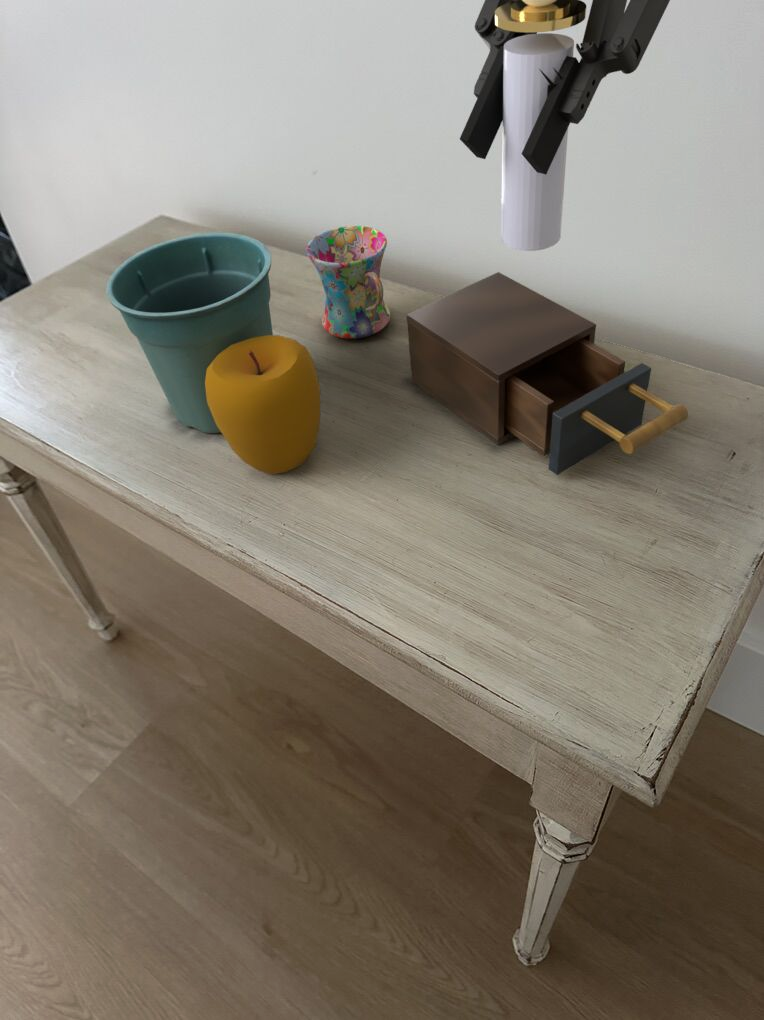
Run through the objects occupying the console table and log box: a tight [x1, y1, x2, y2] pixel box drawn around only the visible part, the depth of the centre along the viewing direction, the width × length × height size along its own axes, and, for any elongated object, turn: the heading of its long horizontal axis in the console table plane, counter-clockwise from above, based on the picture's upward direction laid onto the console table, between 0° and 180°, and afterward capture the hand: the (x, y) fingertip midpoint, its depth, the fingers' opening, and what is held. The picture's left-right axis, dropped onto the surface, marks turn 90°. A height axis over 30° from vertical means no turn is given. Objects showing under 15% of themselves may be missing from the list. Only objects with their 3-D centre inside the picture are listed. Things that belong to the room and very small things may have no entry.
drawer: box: [504, 338, 690, 476], centre depth 76 cm, size 20×11×7 cm, turn 35°
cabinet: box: [406, 271, 597, 446], centre depth 83 cm, size 15×13×9 cm
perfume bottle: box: [495, 0, 587, 252], centre depth 55 cm, size 6×6×20 cm
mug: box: [306, 225, 391, 340], centre depth 93 cm, size 12×9×11 cm
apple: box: [205, 334, 321, 475], centre depth 77 cm, size 11×11×13 cm
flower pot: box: [105, 232, 274, 434], centre depth 84 cm, size 16×16×16 cm
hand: (502, 156), depth 54 cm, fingers closed on perfume bottle, 4 cm apart
